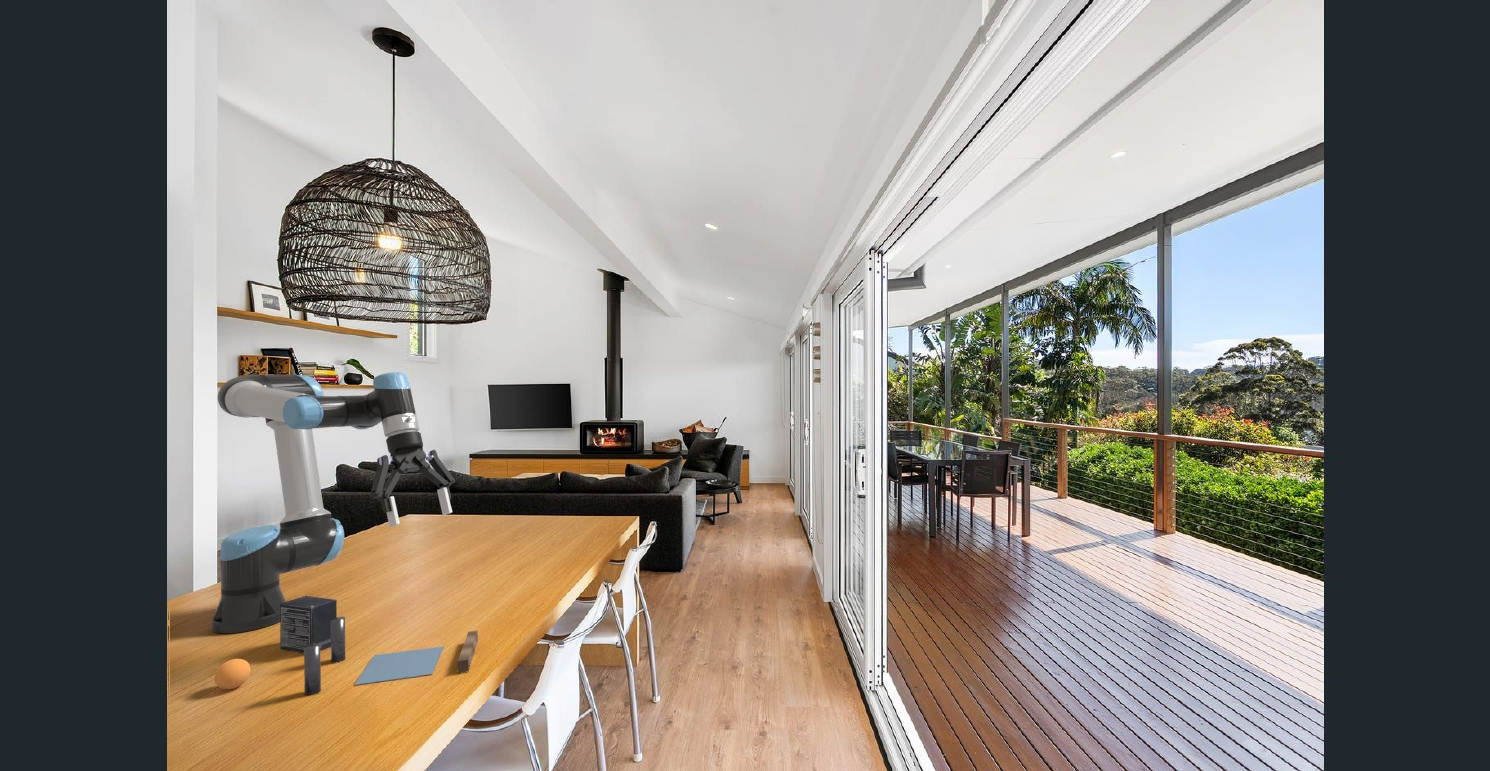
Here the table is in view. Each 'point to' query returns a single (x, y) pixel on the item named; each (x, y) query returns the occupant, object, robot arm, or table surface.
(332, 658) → the post
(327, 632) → the small box
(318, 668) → the post
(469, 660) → the stopper wall
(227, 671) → the ball
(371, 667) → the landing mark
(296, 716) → the table surface
